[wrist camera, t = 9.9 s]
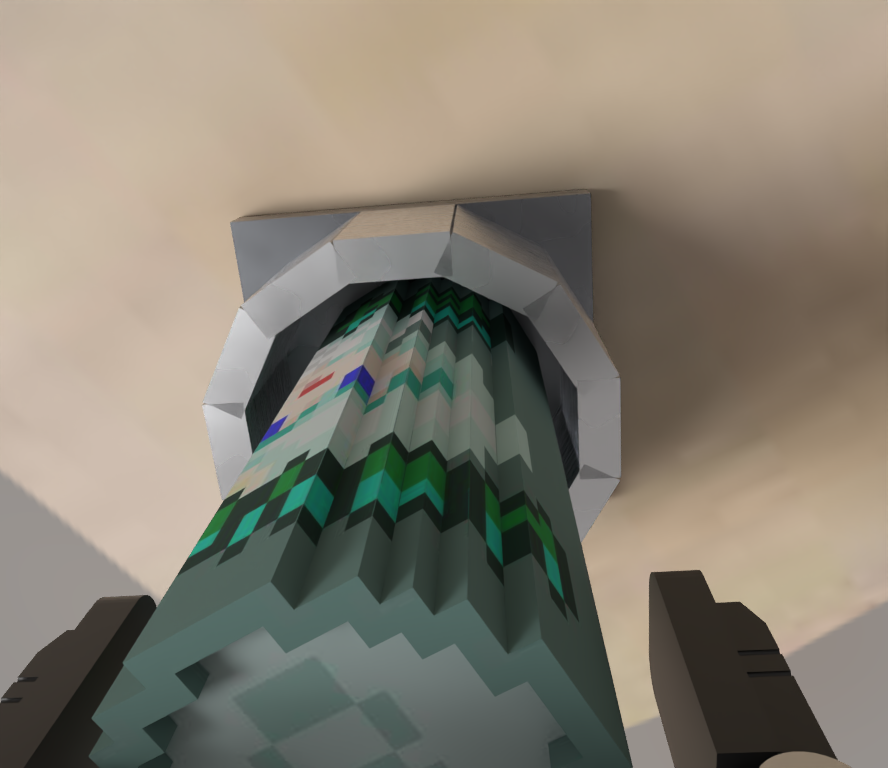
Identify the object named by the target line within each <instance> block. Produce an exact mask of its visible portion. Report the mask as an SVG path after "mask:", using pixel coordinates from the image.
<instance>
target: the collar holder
mask: <svg viewBox="0 0 888 768" xmlns="http://www.w3.org/2000/svg"><path fill="white" fill-rule="evenodd" d="M230 224H231V230H232V236H233V241H234V247H235V253H236V258H237V264H238V270H239V275H240V281H241V286H242V292H243V298H244V303H243V304H242V305H241V307H239V309H238V312H237V314H236V317H235V320H234V322H233V325H232V327H231V330H230V332H229V335H228V338H227V340H226V343H225V345H224V348H223V351H222V353H221V356H220V358H219V361H218V364H217V366H216V369H215V371H214V374H213V376H212V379H211V382H210V384H209V387H208V389H207V392H206V395H205V397H204V400H203V403H204V404H203V405H202V406H203V411H204V415H205V420H206V425H207V430H208V435H209V440H210V445H211V449H212V454H213V459H214V464H215V469H216V474H217V479H218V483H219V488H220V493H221V498H222V500H224V499H225V498H226V496H227V495H228V493H229V491H230V490H231V488H232V487H233V485H234V483H235V482H236V480H237V479H238V477H239V475H240V474H241V472H242V471H243V469H244V467H245V466H246V464H247V463H248V461H249V459H250V458H251V456H252V455H253V453H254V451H255V450H256V448H257V447H258V445H259V443H260V442H261V440H262V439H263V437H264V435H265V434H266V432H267V431H268V429H269V427H270V426H271V424H272V423H273V421H274V419H275V418H276V416H277V415H278V413H279V411H280V410H281V408H282V407H283V405H284V403H285V402H286V400H287V399H288V397H289V395H290V394H291V392H292V391H293V389H294V387H295V386H296V384H297V383H298V381H299V379H300V378H301V376H302V375H303V373H304V371H305V370H306V368H307V367H308V365H309V363H310V362H311V360H312V359H313V357H314V355H315V354H316V352H317V351H318V349H319V347H320V346H321V344H322V343H323V341H324V339H325V338H326V336H327V335H328V333H329V331H330V330H331V328H332V327H333V325H334V323H335V322H336V320H337V319H338V317H339V315H340V314H341V312H342V311H343V309H344V308H345V307H347V306H348V305H350V304H351V303H353V302H355V301H356V300H358V299H359V298H361V297H363V296H364V295H366V294H367V293H369V292H370V291H372V290H374V289H375V288H377V287H378V286H380V285H382V284H383V283H385V282H386V281H391V280H404V279H408V281H409V282H410V283H412V282H413V281H415V280H416V279H418V278H431V277H440V278H441V280H443V279H445V278H447V279H449V280H451V281H453V282H455V283H458V284H460V285H462V286H464V287H466V288H468V289H470V290H472V291H475V292H477V293H479V294H481V295H483V296H485V297H486V298H487V300H488V301H490V300H494V301H496V302H498V303H500V304H502V305H504V306H506V307H508V308H510V310H511V311H512V313H513V314H514V316H515V318H516V319H517V321H518V322H519V324H520V326H521V327H522V329H523V330H524V332H525V334H526V335H527V337H528V338H529V340H530V342H531V343H532V345H533V346H534V348H535V350H536V351H537V355H538V360H539V364H540V368H541V373H542V377H543V381H544V386H545V390H546V394H547V398H548V403H549V407H550V411H551V416H552V420H553V424H554V429H555V433H556V437H557V442H558V446H559V450H560V455H561V459H562V463H563V468H564V472H565V476H566V481H567V485H568V489H569V494H570V498H571V502H572V507H573V511H574V515H575V520H576V524H577V528H578V532H579V537H580V541H581V542H582V541H583V539H584V537H585V536H586V534H587V533H588V531H589V529H590V528H591V526H592V525H593V523H594V521H595V520H596V518H597V517H598V515H599V513H600V512H601V510H602V509H603V507H604V505H605V504H606V502H607V501H608V499H609V497H610V496H611V494H612V493H613V491H614V489H615V488H616V486H617V485H618V483H619V481H620V477H621V390H620V376H619V373H618V371H617V369H616V367H615V365H614V363H613V361H612V359H611V357H610V355H609V353H608V351H607V349H606V347H605V346H604V344H603V342H602V340H601V338H600V336H599V334H598V332H597V330H596V328H595V326H594V324H593V285H592V231H591V193H590V192H589V191H588V190H586V189H581V190H569V191H556V192H544V193H531V194H519V195H507V196H494V197H482V198H470V199H457V200H445V201H433V202H420V203H408V204H396V205H383V206H371V207H359V208H346V209H334V210H322V211H309V212H297V213H285V214H272V215H260V216H247V217H239V218H238V219H236V220H234V221H232V222H230Z"/></svg>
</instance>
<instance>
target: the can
mask: <svg viewBox="0 0 888 768" xmlns="http://www.w3.org/2000/svg"><path fill="white" fill-rule="evenodd" d="M123 664H124V666H123V668H122V670H121V671H120V673H119V674H118V676H117V678H116V679H115V681H114V683H113V684H112V686H111V687H110V689H109V691H108V692H107V694H106V695H105V697H104V699H103V700H102V702H101V704H100V705H99V707H98V708H97V710H96V712H95V713H94V715H93V716H92V720H93V721H94V722H95V723H96V724H97V725H98V726H99V727H100V728H101V729H102V730H103V732H102V734H101V736H100V738H99V739H98V741H97V743H96V744H95V746H94V748H93V749H92V751H91V753H90V755H89V756H88V757H89V758H90V759H91V760H92V761H93V762H94V763H95V764H96V765H97V766H98V767H99V768H633V766H632V762H631V757H630V753H629V749H628V744H627V740H626V736H625V731H624V727H623V723H622V718H621V714H620V710H619V705H618V701H617V697H616V692H615V688H614V684H613V679H612V675H611V671H610V667H609V662H608V658H607V654H606V649H605V645H604V641H603V636H602V632H601V628H600V623H599V619H598V615H597V610H596V606H595V602H594V597H593V593H592V589H591V584H590V580H589V576H588V571H587V567H586V563H585V558H584V554H583V550H582V545H581V541H580V537H579V532H578V528H577V524H576V520H575V515H574V511H573V507H572V502H571V498H570V494H569V489H568V485H567V481H566V476H565V472H564V468H563V463H562V459H561V455H560V450H559V446H558V442H557V437H556V433H555V429H554V424H553V420H552V416H551V411H550V407H549V403H548V398H547V394H546V390H545V386H544V381H543V377H542V373H541V368H540V364H539V360H538V355H537V351H536V350H535V348H534V346H533V345H532V343H531V342H530V340H529V338H528V337H527V335H526V334H525V332H524V330H523V329H522V327H521V326H520V324H519V322H518V321H517V319H516V318H515V316H514V314H513V313H512V311H511V310H510V308H508V307H506V306H504V305H502V304H500V303H498V302H496V301H494V300H490V301H488V300H487V298H486V297H485V296H483V295H481V294H479V293H477V292H475V291H472V290H470V289H468V288H466V287H464V286H462V285H460V284H458V283H455V282H453V281H451V280H449V279H447V278H445V279H443V280H441V278H440V277H431V278H418V279H416V280H415V281H413V282H412V283H410V282H409V281H408V279H404V280H391V281H386V282H385V283H383V284H382V285H380V286H378V287H377V288H375V289H374V290H372V291H370V292H369V293H367V294H366V295H364V296H363V297H361V298H359V299H358V300H356V301H355V302H353V303H351V304H350V305H348V306H347V307H345V308H344V309H343V311H342V312H341V314H340V315H339V317H338V319H337V320H336V322H335V323H334V325H333V327H332V328H331V330H330V331H329V333H328V335H327V336H326V338H325V339H324V341H323V343H322V344H321V346H320V347H319V349H318V351H317V352H316V354H315V355H314V357H313V359H312V360H311V362H310V363H309V365H308V367H307V368H306V370H305V371H304V373H303V375H302V376H301V378H300V379H299V381H298V383H297V384H296V386H295V387H294V389H293V391H292V392H291V394H290V395H289V397H288V399H287V400H286V402H285V403H284V405H283V407H282V408H281V410H280V411H279V413H278V415H277V416H276V418H275V419H274V421H273V423H272V424H271V426H270V427H269V429H268V431H267V432H266V434H265V435H264V437H263V439H262V440H261V442H260V443H259V445H258V447H257V448H256V450H255V451H254V453H253V455H252V456H251V458H250V459H249V461H248V463H247V464H246V466H245V467H244V469H243V471H242V472H241V474H240V475H239V477H238V479H237V480H236V482H235V483H234V485H233V487H232V488H231V490H230V491H229V493H228V495H227V496H226V498H225V499H224V501H223V503H222V504H221V506H220V507H219V509H218V511H217V512H216V514H215V515H214V517H213V519H212V520H211V522H210V523H209V525H208V527H207V528H206V530H205V531H204V533H203V535H202V536H201V538H200V539H199V541H198V543H197V544H196V546H195V547H194V549H193V551H192V552H191V554H190V555H189V557H188V559H187V560H186V562H185V563H184V565H183V567H182V568H181V570H180V571H179V573H178V575H177V576H176V578H175V579H174V581H173V583H172V584H171V586H170V587H169V589H168V591H167V592H166V594H165V596H164V597H163V599H162V600H161V602H160V604H159V605H158V607H157V608H156V610H155V612H154V613H153V615H152V616H151V618H150V620H149V621H148V623H147V624H146V626H145V628H144V629H143V631H142V632H141V634H140V636H139V637H138V639H137V640H136V642H135V644H134V645H133V647H132V648H131V650H130V652H129V653H128V655H127V656H126V658H125V660H124V661H123Z"/></svg>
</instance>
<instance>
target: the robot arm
mask: <svg viewBox="0 0 888 768" xmlns="http://www.w3.org/2000/svg"><path fill="white" fill-rule="evenodd" d="M156 608H157V607H156V604H155V602H154V600H153V599H152V598H151V597H150V596H148V595H140V596H120V597H102V598H100V599H99V600H97V601H96V603H95V604H94V605H93V607H92V608H91V609H90V610H89V612H88V613H87V614H86V615H85V617H84V618H83V619H82V621H81V622H80V623H79V625H78V626H77V627H76V629H75V630H67V631H66V632H64V633H63V634H62V635H60V636H59V637H58V638H56V639H55V640H54V641H52V642H51V643H50V644H48V645H47V646H46V647H44V648H43V649H42V650H41V651H39V652H38V653H37V654H36V655H35V657H34V658H33V659H32V660H31V662H30V663H29V664H28V665H27V667H26V668H25V669H24V670H23V672H22V673H21V674H20V675H19V677H18V682H15V683H13V684H12V685H11V687H10V688H9V689H8V690H7V692H6V693H5V694H4V695H3V697H2V698H1V703H0V768H99V767H98V766H97V765H96V764H95V763H94V762H93V761H92V760H91V759H90V758H89V757H88V756H89V755H90V753H91V751H92V749H93V748H94V746H95V744H96V743H97V741H98V739H99V738H100V736H101V734H102V732H103V730H102V729H101V728H100V727H99V726H98V725H97V724H96V723H95V722H94V721H93V720H92V716H93V715H94V713H95V712H96V710H97V708H98V707H99V705H100V704H101V702H102V700H103V699H104V697H105V695H106V694H107V692H108V691H109V689H110V687H111V686H112V684H113V683H114V681H115V679H116V678H117V676H118V674H119V673H120V671H121V670H122V668H123V666H124V664H123V661H124V660H125V658H126V656H127V655H128V653H129V652H130V650H131V648H132V647H133V645H134V644H135V642H136V640H137V639H138V637H139V636H140V634H141V632H142V631H143V629H144V628H145V626H146V624H147V623H148V621H149V620H150V618H151V616H152V615H153V613H154V612H155V610H156ZM649 661H650V671H651V679H652V685H653V690H654V695H655V699H656V702H657V706H658V709H659V713H660V717H661V720H662V724H663V727H664V731H665V734H666V738H667V742H668V745H669V748H670V752H671V756H672V759H673V763H674V767H675V768H851V767H850V766H848V765H846V764H844V763H842V762H840V761H838V759H837V758H836V756H835V754H834V752H833V751H832V749H831V747H830V745H829V743H828V741H827V739H826V737H825V735H824V733H823V731H822V730H821V728H820V726H819V724H818V722H817V720H816V718H815V716H814V714H813V713H812V710H811V708H810V707H809V705H808V703H807V701H806V699H805V697H804V695H803V693H802V691H801V690H800V688H799V686H798V684H797V682H796V680H795V678H794V676H791V671H790V669H789V667H788V665H787V663H786V661H785V659H784V657H783V655H782V654H780V652H779V648H778V646H777V644H776V642H775V640H774V638H773V636H772V634H771V632H770V630H769V629H768V627H767V625H766V623H765V622H764V621H762V620H761V619H760V618H759V617H758V616H756V615H755V614H754V613H753V612H752V611H750V610H749V609H748V608H747V607H746V606H744V605H743V604H742V603H741V602H725V603H715V600H714V598H713V596H712V594H711V591H710V589H709V587H708V585H707V583H706V580H705V578H704V576H703V574H702V572H701V571H700V570H690V571H669V572H651V574H650V579H649Z"/></svg>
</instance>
